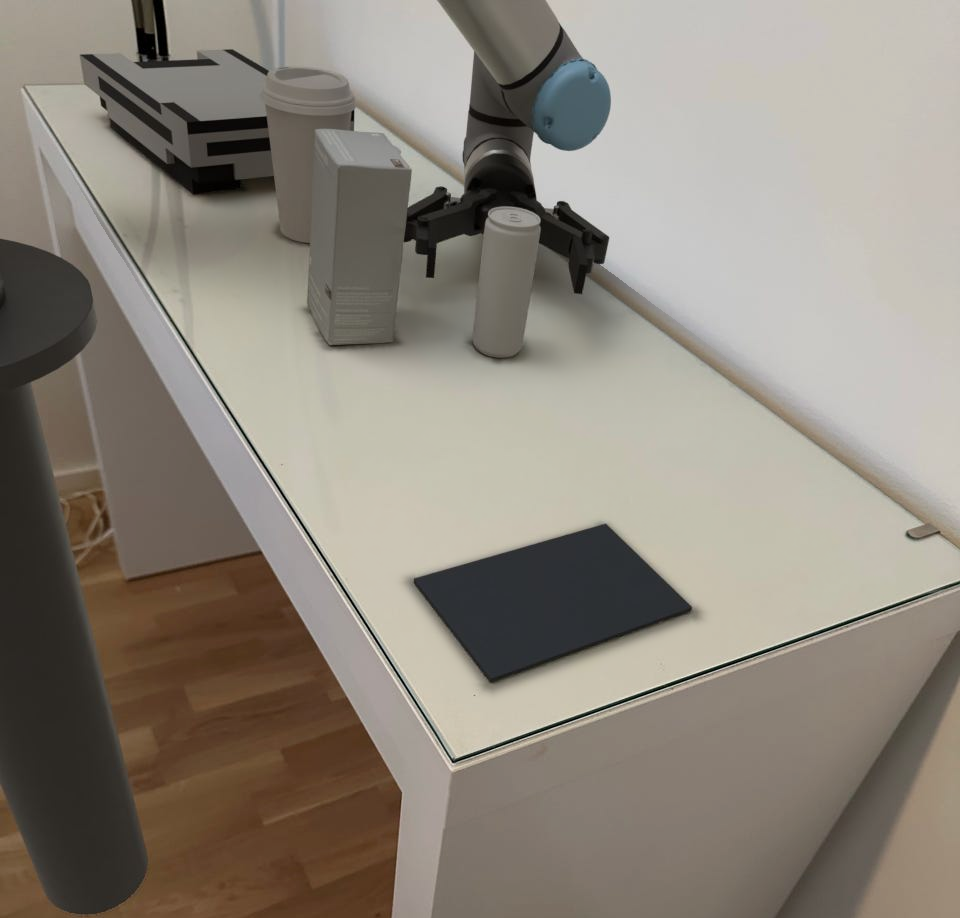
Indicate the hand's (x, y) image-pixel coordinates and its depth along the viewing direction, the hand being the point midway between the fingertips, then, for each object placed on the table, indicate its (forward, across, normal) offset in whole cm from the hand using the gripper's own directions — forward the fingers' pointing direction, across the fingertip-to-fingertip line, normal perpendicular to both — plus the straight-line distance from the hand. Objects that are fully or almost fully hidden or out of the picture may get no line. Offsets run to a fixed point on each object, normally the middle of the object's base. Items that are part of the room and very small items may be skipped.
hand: (506, 271), depth 82 cm
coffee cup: (-22, +20, -7) cm, 31 cm away
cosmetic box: (-1, +14, -7) cm, 15 cm away
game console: (-46, +35, -7) cm, 58 cm away
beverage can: (+1, 0, -7) cm, 7 cm away
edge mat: (+36, -3, -7) cm, 37 cm away
